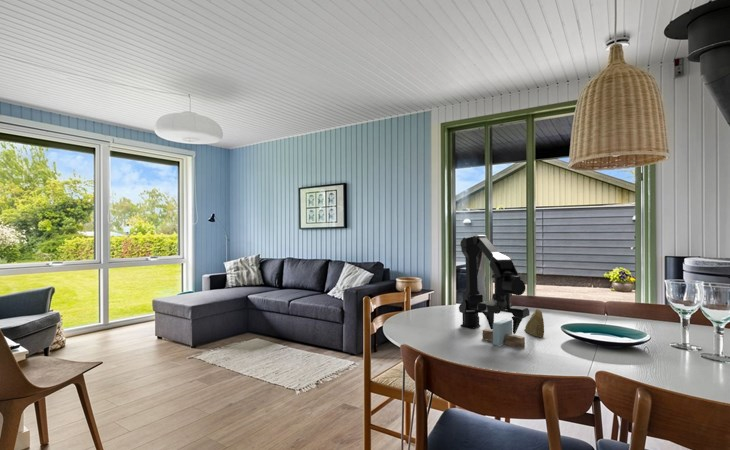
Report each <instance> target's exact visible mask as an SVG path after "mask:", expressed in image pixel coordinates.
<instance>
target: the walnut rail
mask: <svg viewBox="0 0 730 450" xmlns="http://www.w3.org/2000/svg"><path fill="white" fill-rule="evenodd" d="M481 331H482V333H481V334H482V340H486V341H490V342H493V329H487V328H483V329H482V330H481ZM525 341H526V338H525V336H522V335H516V334H513V333H512V334H507V335H506V339H505V340H503V345H508V346H512V347H516V348H520V349H522V348H525V346H526V342H525Z"/></svg>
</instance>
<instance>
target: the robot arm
mask: <svg viewBox="0 0 730 450" xmlns="http://www.w3.org/2000/svg"><path fill="white" fill-rule="evenodd" d="M459 246H460V248H461V252H462V254H463V256H464V258H465V281H466V282H465V283H466V284H465V285H466V287H465V288H466V289H465V291H464V293H463V295H462V301H461V303H460V304H459V306H458V311H459V313H460V314H461V313H462V316H461V317H462V324H460V327H464V328H470V329H475V328H479V327H481V324H480V316H479V313H481V314H483V315H484V316H485V317H486V321H487V322H488V326H489V328H490V329H489V330H493V323H495V314H500V313H501V312H503V313H508V314H509V313H510V314H511V315H513V316H511V320H512V334H513V335H516V334H517V331H518V329H519V326H520V324H521V322H522V321H523V319H525V318H527V317H528V316H530V309H529V308H528V307H525V306H524V307H523V306H516V307H513V303H511V297H512V296H513V295H515V296H522V295H523V294H524V293H525V292H526V287H527V286H526V283H525V282H524V280H522V279H521V276H519V273H518V270H517V268H516V267H515V264H514V262H513V260H512V259H511V258H510V257H509V256H507V255H505V254H503V253H500V251H498V249H497V248H496V247H495V246H494V245H493V243H491V241H490V240H489V239H488V236H487V235H485V234H476V235H473V236H469V237H467V236H466V237H463V238H462V239H461V240H460V244H459ZM480 252H482V253H483V255H484V256H485V257H486V258H487V260H488V261H489V268H490V269H491V270H492V272H493V274H492V276H491V278H493V279H494V293H492V298H491V299H490V300H488V301H486V300H485V301H484V300H483V299H484V298H483V297H484V296H483V294H481V293H480V291H479V288H478V287H479V285H478V283H479V280H478V256H479V254H480Z"/></svg>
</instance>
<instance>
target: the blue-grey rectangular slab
mask: <svg viewBox="0 0 730 450" xmlns="http://www.w3.org/2000/svg"><path fill="white" fill-rule="evenodd" d="M492 330H493V341H492V345H494V346H498V347H500V346H502V345H504V344H503V340H505V339H506V335H507V334H513V319H508V318H505V319H502V320H499V321H494V323H493V329H492Z"/></svg>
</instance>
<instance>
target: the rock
mask: <svg viewBox="0 0 730 450" xmlns="http://www.w3.org/2000/svg"><path fill="white" fill-rule="evenodd" d="M543 317H544V316H543V312H542V311H541V310H540V309H535V311H534V312H533V313H532V315H531V316H530V318H529V319H528V321H527V323H526V325H525V328H524V331H525V333H528V334H529V335H531V336H535V337H537V338H544V336H545V335H544V334H545V325H544V324H545V323H544V318H543Z"/></svg>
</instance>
